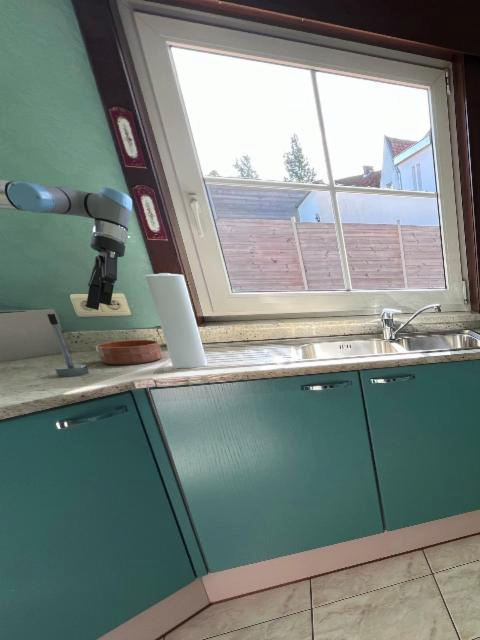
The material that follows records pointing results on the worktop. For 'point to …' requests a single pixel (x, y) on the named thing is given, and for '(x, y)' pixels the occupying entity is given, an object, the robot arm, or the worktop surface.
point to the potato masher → (66, 354)
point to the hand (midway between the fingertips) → (97, 306)
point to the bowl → (129, 352)
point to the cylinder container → (177, 320)
